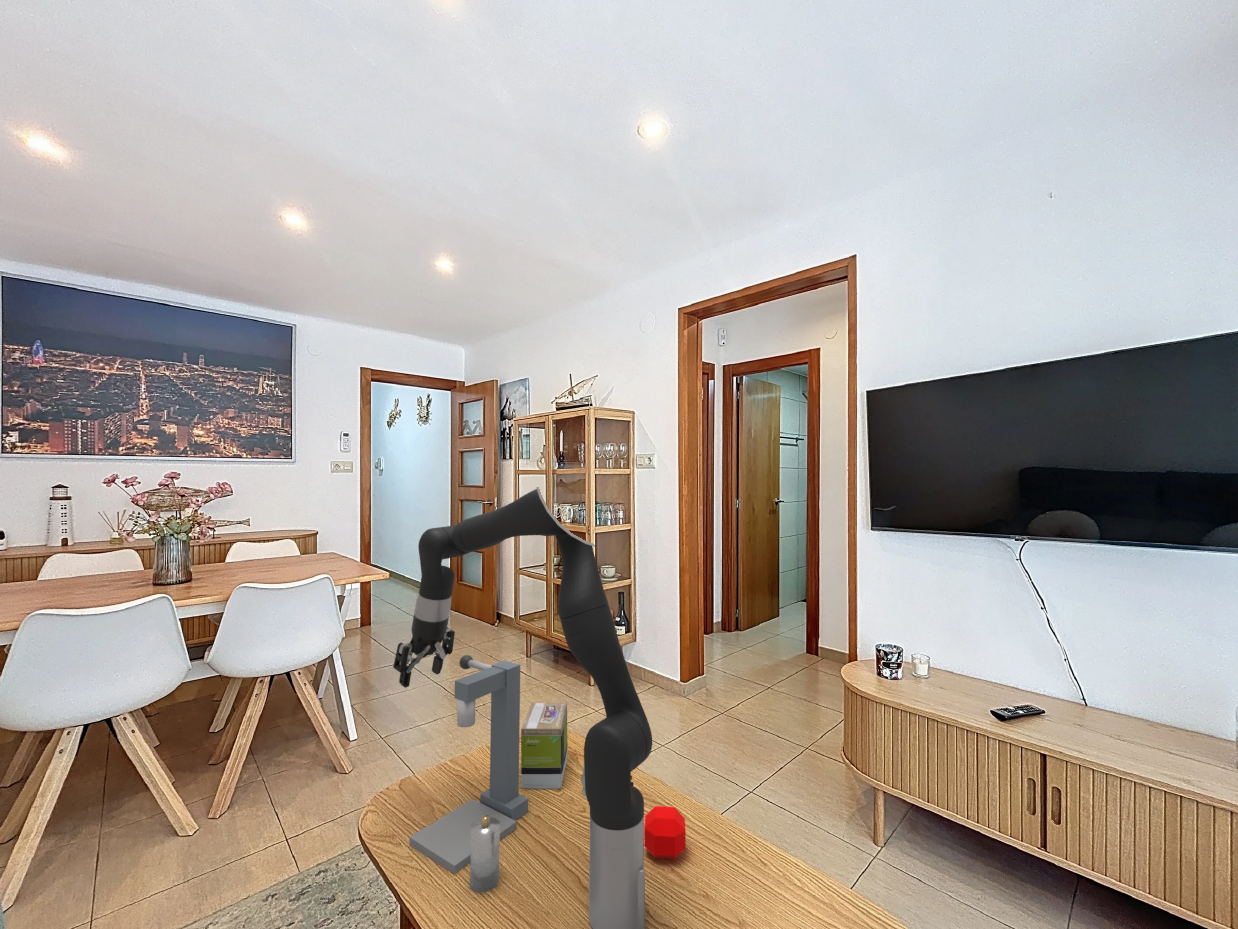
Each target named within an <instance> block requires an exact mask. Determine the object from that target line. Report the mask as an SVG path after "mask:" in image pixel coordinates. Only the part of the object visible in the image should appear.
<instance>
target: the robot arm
mask: <svg viewBox="0 0 1238 929" xmlns="http://www.w3.org/2000/svg"><path fill="white" fill-rule="evenodd" d="M523 536H526V537H528V536H543V537H553V536H554V537H555V538H556V541H557V545H558V548H559V553H560V556H561V564H562V568H561V569H562V573H561V578H560V584H559V585H560V586H559V592H558V601H557V610H558V615H559V616H558V617H559V620H560V623H561V627H562V628H561V629H562V631H563V634H564V638H565V642H566V644H567V647H568V650H569V651H570V652H571V654H572V656H573V657H574V658H575V659H576V660H577V662H578V663H579V664H580V665H581V666H582V668H584V670H586V672H587V673H588V674H589V676H590V677H591V679H593V681H594V683H595V684H596V686H597V688H598V691H599V694H600V696H601V700H602V703H603V707H604V712H605V715H606V716H605V718H603V719H601V720H600V721H599V722H597V723H595V724H594V725H593V726H591V727H590V729H589V730H588V731H587V734H586V735H585V738H584V745H583V764H584V772H585V792H586V797H585V798H586V799H587V802H588V806H589V854H588V855H589V864H588V865H589V866H588V867H589V868H588V869H589V870H588V871H589V873H588V874H589V875H588V878H589V881H588V922H589V925H590V926H591V929H646V918H645V917H646V913H645V912H646V869H645V846H644V837H645V801H644V800H645V799H644V796H643V793H642V792H641V790H639V789H638V788H637V787H635V786H634V785H633V786H631V782H632V780H631V774H632V772H633V771H634V770H636V768H638V767H639V766H640V765H642V764H643V763H644V762H645V761H646V760H647V759H648V758H649V756H650V755H651V752H652V748H653V734H652V730H651V726H650V722H649V720H648V717H647V715H646V712H645V710H644V708H643V705H642V703H641V701H640V697H639V695H638V693H637V691H636V688H635V685H634V683H633V680H632V677H631V675H630V671H629V669H628V668H629V667H628V666H627V662H626V658H625V655H624V653H623V650H622V646H621V644H620V640H619V636H618V633H617V630H616V625H615V620H614V618H613V614H612V611H611V606H610V605H609V601H608V598H607V595H606V592H605V589H604V586H603V581H602V578H601V574H600V570H599V566H598V563H597V561H596V556H595V552H594V549H593V548H594V546H593V545H592V544H589V543H586V542H584V541H582V540H581V539H579V538H577V537H575V536H573V535H572V534H570V533H569V532H568V531H567V530H565V529H564V528H563V527H562V526H561V525H559V524H558V522H557V521H556V520H555V519H554V517H553V516H552V515H551V514H550V513H549V511H548V510H547V508H546V506H545V504H544V502H543V500H542V498H541V496H540V493H539V490H538V488H535V489H533V490H531V491H530V492H528V493H526V494H524V495H522V496H521V497H519V498H517V499H515V500H513V501H512V502H510V503H508V504H506V505H504V506H502V507H500V508H496V509H495V510H491V511H489V512H484V513H481V514H478V515H475V516H472V517H469V518H466V519H463V520H461V521H459V522H458V523H457V524H453V525H449V526H448V525H447V526H441V527H431V528H428V529H426V530H425V531H423V533H422V535H421V536H420V538H419V541H418V548H417V549H418V556H419V563H420V564H419V565H420V572H421V577H420V582H419V584H420V585H419V589H418V593H417V598H416V601H415V606H414V607H415V608H414V611H413V612H414V613H413V618H412V624H411V635H412V637H411V640H410V641H409V642H408V643H404V642H398V644H397V649H396V652H395V656H394V662H393V666H392V668H393V669H394V670H396V671H397V672H398V673H400V674H399V681H398V683H399V684H400V685H401V686H402V687H403V688H405V689H406V688H408V687H409V686H410V683H411V679H412V678H411V677H412V670H413V669H414V667H415V666H416V665H418V664H419V663H420V662H421V660H422V659H425V658H426V657H428V656H431V655H435V656H433V660H432V666H431V671H432V673H434V674H435V675H439V674H441V672H442V669H443V664H444V659H446V657H447V656H448V655H451V654H453V650H454V643H455V642H454V641H455V634H456V632H455V631H454V630H453V629H451V628H449V627H448V625H449V618H450V612H451V609H452V608H451V607H452V595H453V589H454V583H455V577H456V575H455V570H453V569H452V568H451V567H449V566H446V565H442V564H443V563H442V562H443V560H446V559H452V558H458V557H461V556H464V555H468V554H469V553H472V552H477V551H481V550H484V549H488V548H491V547H494V546H496V545H498V544H501V543H502V542H504V541H506V539H510V538H515V537H523ZM413 654H414V655H415V656H416V657H413Z"/></svg>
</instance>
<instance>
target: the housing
mask: <svg viewBox="0 0 1238 929" xmlns="http://www.w3.org/2000/svg"><path fill="white" fill-rule="evenodd" d="M500 841H501V840H500V822H499V821H498V820H497V819H496V818H493V817H489V815H483V816H482V818H481V819H478V820H476V821H475V822H474V823H473V824H472V825H471V844H470V863H469V887H470V889H471V890H472V891H473V892H475V893H482V894H484V893H487V892H491V891H492V890H494V889H495V888H496V887H497V886H498V884H499V882H500Z"/></svg>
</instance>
